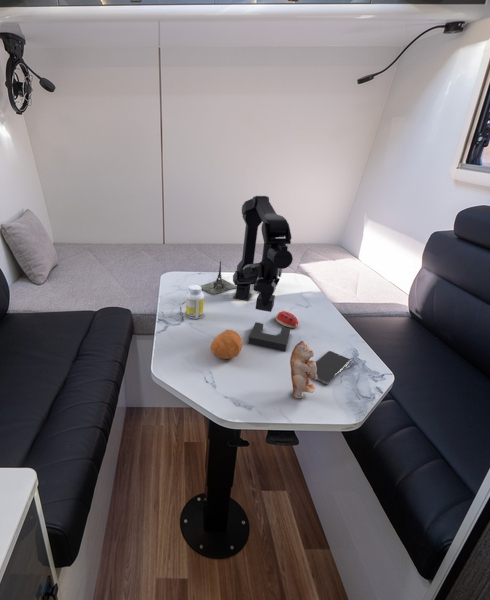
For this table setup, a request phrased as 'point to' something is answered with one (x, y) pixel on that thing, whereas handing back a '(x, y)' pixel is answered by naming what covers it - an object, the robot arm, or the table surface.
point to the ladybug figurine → (287, 319)
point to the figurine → (302, 370)
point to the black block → (268, 305)
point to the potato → (227, 344)
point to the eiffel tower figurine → (218, 285)
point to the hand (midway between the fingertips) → (265, 302)
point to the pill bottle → (194, 302)
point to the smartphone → (330, 366)
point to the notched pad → (269, 338)
